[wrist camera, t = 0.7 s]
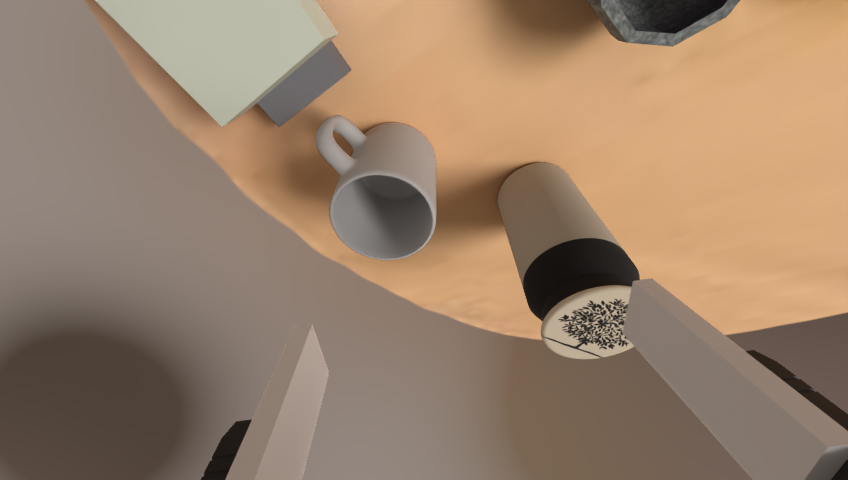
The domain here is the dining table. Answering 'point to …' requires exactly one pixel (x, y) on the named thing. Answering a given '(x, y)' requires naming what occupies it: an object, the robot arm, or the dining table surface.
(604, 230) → the travel mug
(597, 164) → the dining table surface
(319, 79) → the mat
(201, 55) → the lid
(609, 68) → the dining table surface
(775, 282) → the dining table surface
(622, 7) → the mortar and pestle
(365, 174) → the mug
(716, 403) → the robot arm
